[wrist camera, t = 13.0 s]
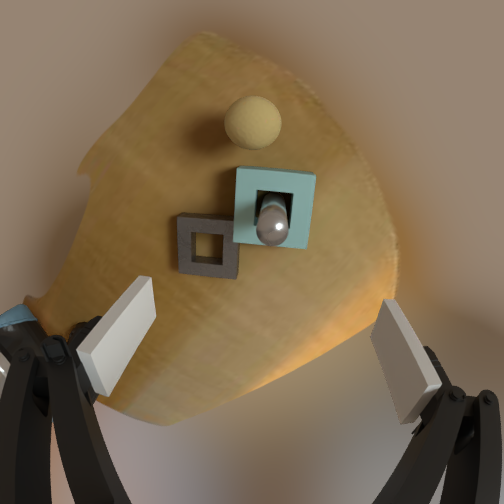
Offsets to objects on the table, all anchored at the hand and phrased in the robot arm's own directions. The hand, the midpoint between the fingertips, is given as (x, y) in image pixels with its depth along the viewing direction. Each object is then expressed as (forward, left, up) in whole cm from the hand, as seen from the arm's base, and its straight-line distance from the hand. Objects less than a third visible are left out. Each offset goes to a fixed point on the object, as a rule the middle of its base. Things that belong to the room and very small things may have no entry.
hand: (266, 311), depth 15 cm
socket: (0, 0, -27) cm, 27 cm away
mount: (-9, -7, -27) cm, 29 cm away
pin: (0, 0, -27) cm, 27 cm away
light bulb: (-3, +11, -27) cm, 29 cm away
